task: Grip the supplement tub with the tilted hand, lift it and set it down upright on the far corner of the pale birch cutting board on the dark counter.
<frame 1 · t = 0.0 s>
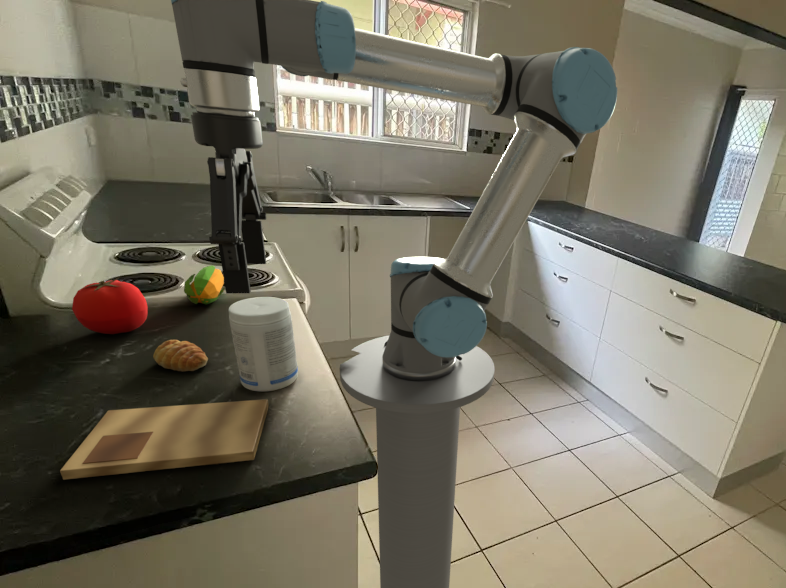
hand: (248, 277, 67), 23 cm above the worktop, tool pointing down, fingers open, 13 cm apart
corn: (209, 297, 120), on the worktop
cutting board: (179, 438, 70), on the worktop
pastry: (183, 363, 90), on the worktop
supplement tub: (270, 381, 87), on the worktop
tomato: (118, 332, 99), on the worktop
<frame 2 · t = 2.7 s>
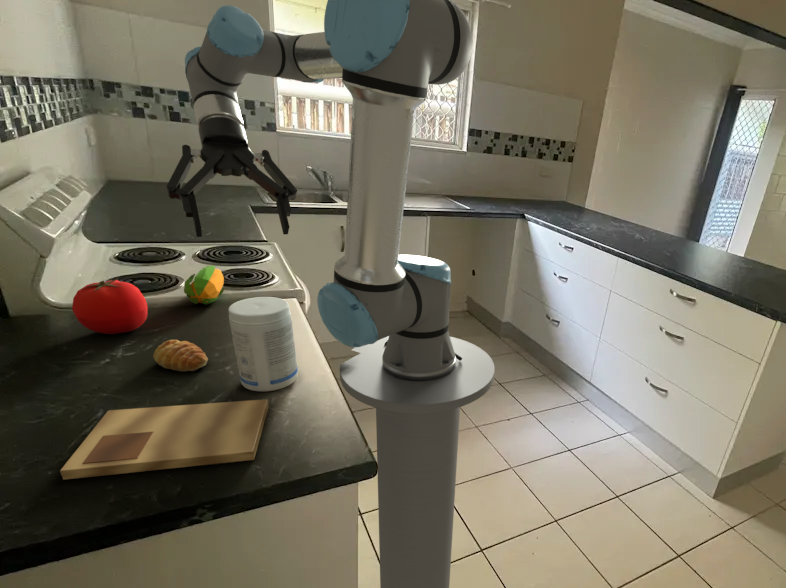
hand: (244, 231, 83), 25 cm above the worktop, tool tilted 40°, fingers open, 13 cm apart
nothing on the worktop moved.
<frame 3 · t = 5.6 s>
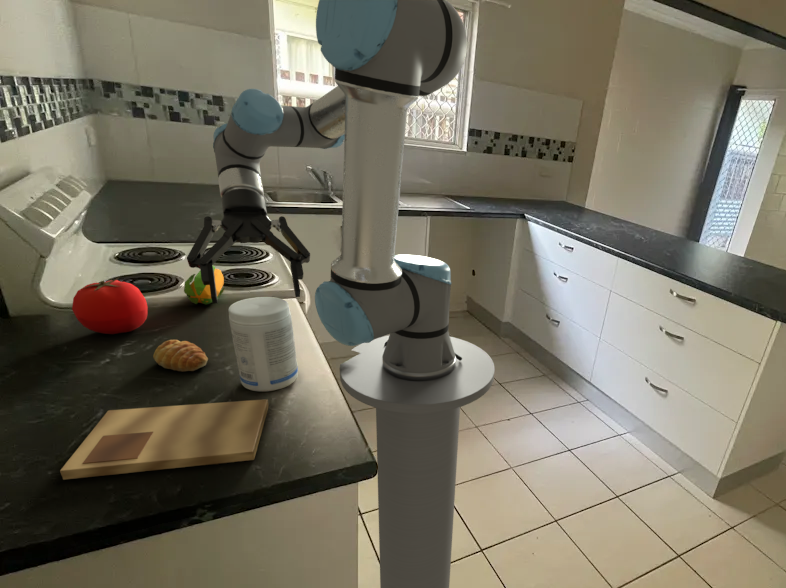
hand: (257, 297, 86), 14 cm above the worktop, tool tilted 45°, fingers open, 13 cm apart
nothing on the worktop moved.
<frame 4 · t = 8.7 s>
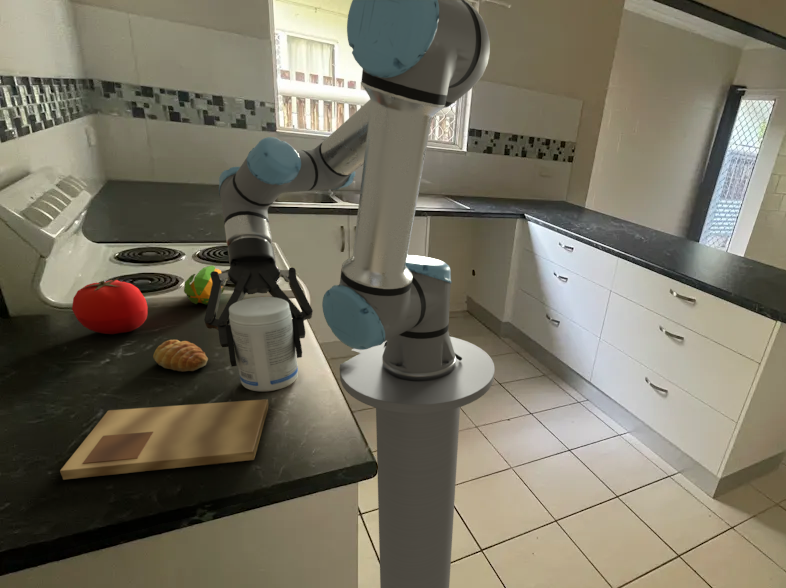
hand: (267, 359, 82), 6 cm above the worktop, tool tilted 45°, fingers closed on supplement tub, 10 cm apart
supplement tub: (270, 381, 87), on the worktop, touching gripper
everything else where it was.
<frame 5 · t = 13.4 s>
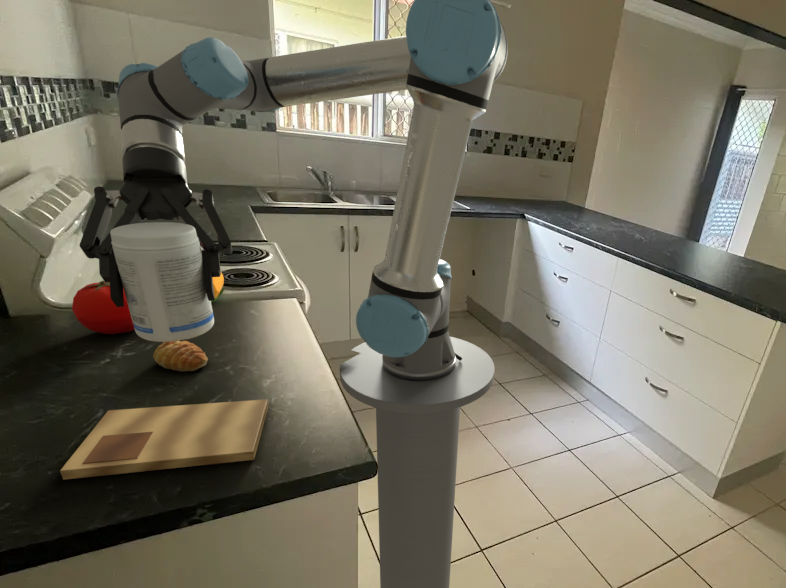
hand: (165, 299, 63), 21 cm above the worktop, tool tilted 45°, fingers closed on supplement tub, 10 cm apart
supplement tub: (176, 331, 68), point 15 cm above the worktop, touching gripper
everything else where it was.
when the fingers open (7 cm above the worktop, at t = 18.6 s): supplement tub stays where it is, resting on cutting board.
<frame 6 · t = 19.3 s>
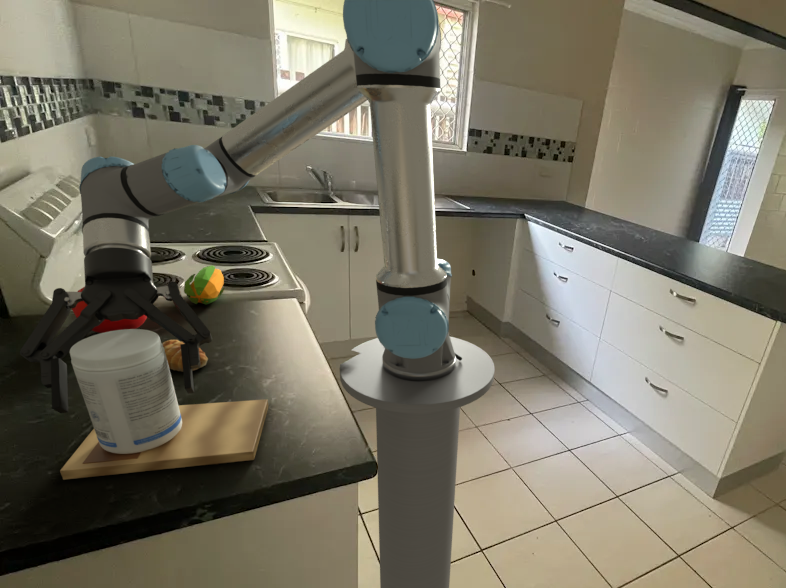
hand: (128, 400, 62), 9 cm above the worktop, tool tilted 45°, fingers open, 13 cm apart
supplement tub: (142, 437, 67), point 1 cm above the worktop, touching cutting board
everything else where it was.
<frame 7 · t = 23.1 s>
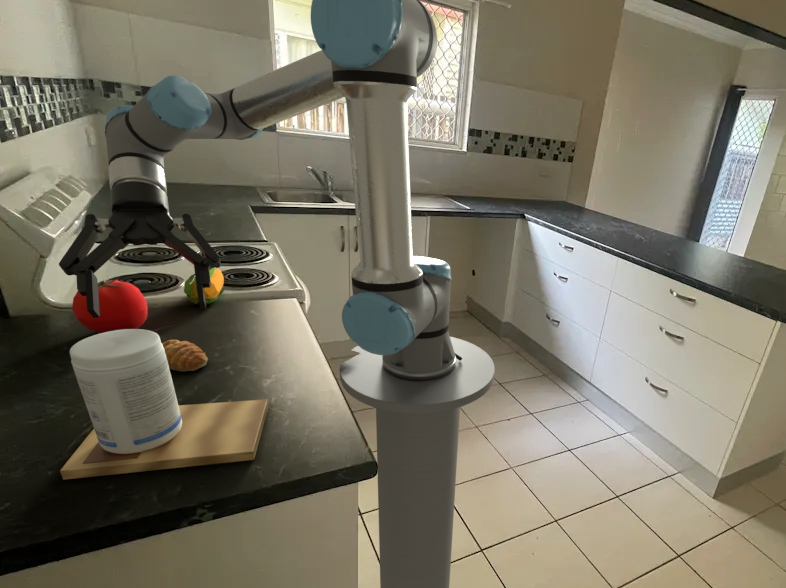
hand: (150, 309, 73), 16 cm above the worktop, tool tilted 45°, fingers open, 13 cm apart
nothing on the worktop moved.
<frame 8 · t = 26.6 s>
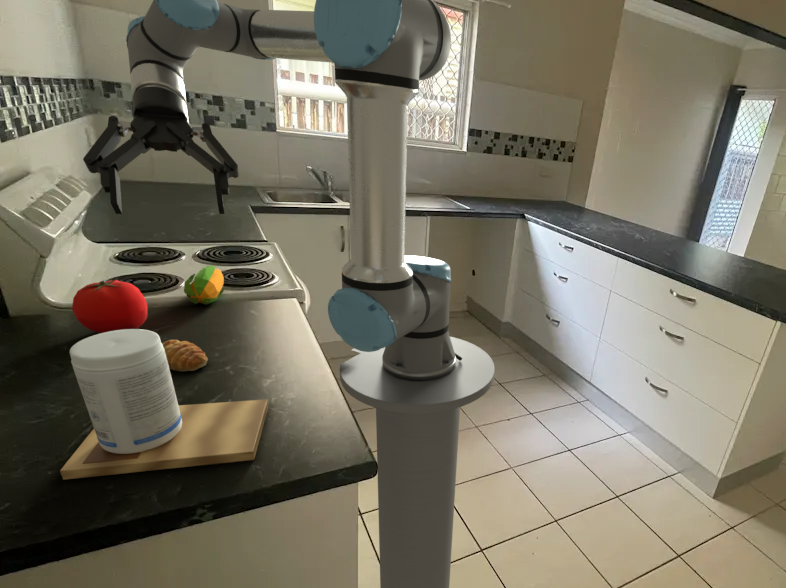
hand: (171, 209, 74), 30 cm above the worktop, tool tilted 45°, fingers open, 13 cm apart
nothing on the worktop moved.
at the end: supplement tub inside the target area on the cutting board (0.1 cm from its centre), point 1.4 cm above the cutting board's base; supplement tub tilted 0°; the gripper is holding nothing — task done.
